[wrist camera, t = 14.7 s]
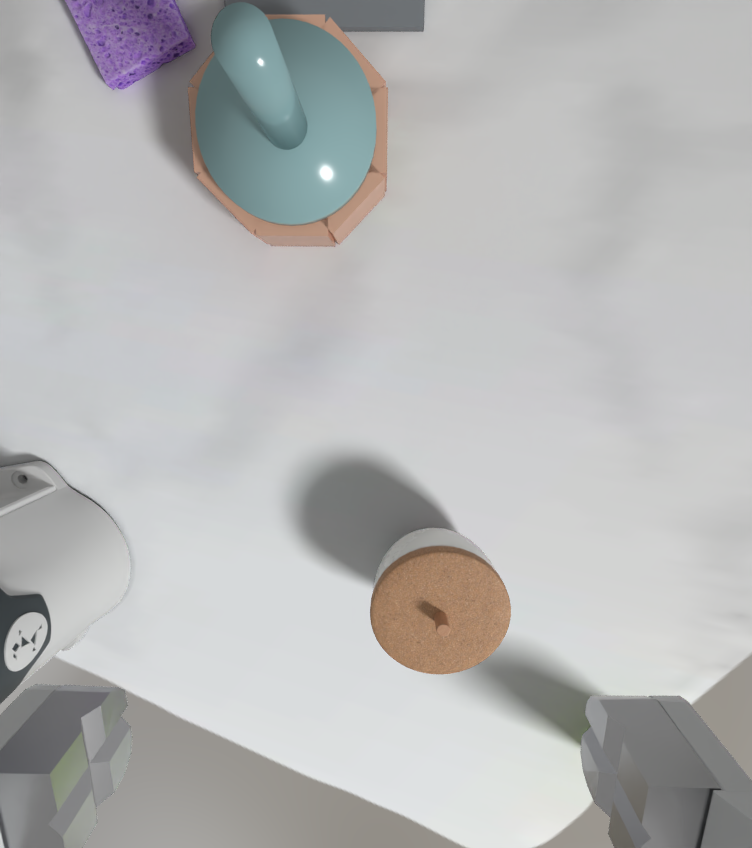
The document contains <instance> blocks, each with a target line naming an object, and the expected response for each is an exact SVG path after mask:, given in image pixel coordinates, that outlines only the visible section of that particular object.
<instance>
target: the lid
mask: <svg viewBox="0 0 752 848" xmlns="http://www.w3.org/2000/svg"><path fill="white" fill-rule="evenodd" d="M211 43H212V48H213V51H214V54H215V55H214V56H213V58H212V59H211V61H210V62H209V64H208V66H207V68H206V70H205V72H204V74H203V77H202V80H201V83H200V86H199V90H198V95H197V100H196V109H195V125H196V133H197V140H198V144H199V148H200V151H201V154H202V157H203V159H204V162H205V164H206V166H207V168H208V170H209V172H210V174H211V176H212V177H213V179H214V180H215V182H216V183H217V185H218V186H219V187H220V188H221V190H222V191H223V192H224V193H225V194H226V195H227V196H228V197H229V198H230V199H231V200H232V201H233V202H234V203H235V204H237V205H238V206H239V207H241V208H242V209H243V210H245V211H246V212H248V213H249V214H251V215H253V216H255V217H257V218H259V219H261V220H264V221H266V222H269V223H273V224H278V225H284V226H301V225H307V224H312V223H315V222H318V221H321V220H323V219H325V218H327V217H329V216H331V215H333V214H335V213H336V212H337V211H339V210H340V209H341V208H343V207H344V206H345V205H346V204H347V203H348V202H349V201H350V200H351V199H352V198H353V197H354V195H355V194H356V193H357V192H358V190H359V189H360V187H361V186H362V184H363V182H364V181H365V179H366V176H367V174H368V172H369V170H370V167H371V164H372V160H373V157H374V152H375V146H376V134H377V129H376V111H375V105H374V99H373V96H372V92H371V89H370V86H369V83H368V81H367V78H366V76H365V74H364V72H363V70H362V68H361V67H360V65H359V63H358V62H357V60H356V59H355V58H354V56H353V55H352V54H351V52H350V51H349V50H348V49H347V48H346V47H345V46H344V45H343V44H342V43H341V42H340V41H339V40H338V39H336V38H335V37H334V36H333V35H331V34H330V33H328V32H326V31H325V30H323V29H321V28H320V27H317V26H315V25H312V24H310V23H307V22H303V21H299V20H295V19H283V18H282V19H270V20H268V18H267V17H266V16H265V14H264V13H263V12H262V11H261V10H260V9H258V8H257V7H256V6H254V5H252V4H249V3H245V2H237V3H232V4H230V5H228V6H226V7H225V8H224V9H222V10H221V11H220V12H219V14H218V15H217V17H216V18H215V20H214V23H213V26H212V31H211Z"/></svg>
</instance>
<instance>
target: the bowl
mask: <svg viewBox="0 0 752 848" xmlns="http://www.w3.org/2000/svg"><path fill="white" fill-rule="evenodd" d="M265 16H266V17H267V18H268V20H270V19H282V18H283V19H295V20H299V21H303V22H307V23H310V24H312V25H315V26H317V27H320V28H321V29H323V30H325V31H326V32H328V33H330V34H331V35H333V36H334V37H335V38H336V39H338V40H339V41H340V42H341V43H342V44H343V45H344V46H345V47H346V48H347V49H348V50H349V51H350V52H351V54H352V55H353V56H354V58H355V59H356V60H357V62H358V63H359V65H360V67H361V68H362V70H363V72H364V74H365V76H366V78H367V81H368V83H369V86H370V89H371V92H372V96H373V99H374V105H375V111H376V129H377V134H376V146H375V152H374V157H373V160H372V164H371V167H370V170H369V172H368V174H367V176H366V179H365V181H364V182H363V184H362V186H361V187H360V189H359V190H358V192H357V193H356V194H355V195H354V197H353V198H352V199H351V200H350V201H349V202H348V203H347V204H346V205H345V206H344V207H343V208H341V209H340V210H339V211H337V212H336V213H335V214H333V215H331V216H329V217H327V218H325V219H323V220H321V221H318V222H315V223H312V224H307V225H301V226H284V225H278V224H273V223H269V222H266V221H264V220H261V219H259V218H257V217H255V216H253V215H251V214H249V213H248V212H246V211H245V210H243V209H242V208H241V207H239V206H238V205H237V204H235V203H234V202H233V201H232V200H231V199H230V198H229V197H228V196H227V195H226V194H225V193H224V192H223V191H222V190H221V188H220V187H219V186H218V185H217V183H216V182H215V180H214V179H213V177H212V176H211V174H210V172H209V170H208V168H207V166H206V164H205V162H204V159H203V157H202V154H201V151H200V148H199V144H198V140H197V133H196V125H195V109H196V100H197V95H198V90H199V86H200V83H201V80H202V77H203V74H204V72H205V70H206V68H207V66H208V64H209V62H210V61H211V59H212V58H213V56H214V55H215V54H214V51H213V52H212V54H211V55H210V56H209V57H208V59H207V60H206V61H205V63H204V64H203V65H202V66H201V68H200V69H199V70H198V71H197V73H196V74H195V75H194V76H193V78H192V79H191V80H190V81H189V82H190V83H191V84H192V85H193V86H194V87H188V96H189V110H190V123H191V136H192V149H193V162H194V172H195V173H196V174H197V175H198V176H197V178H198V179H199V180H200V181H201V182H202V183H203V184H204V185H205V186H206V187H207V188H208V189H209V191H210V192H211V193H212V194H213V195H214V196H215V197H216V198H217V199H218V200H219V201H220V202H221V203H222V204H223V205H224V206H225V207H226V208H227V209H228V210H229V211H230V212H231V213H232V214H233V215H234V216H235V217H236V218H237V219H238V220H239V221H240V222H241V223H242V224H243V225H244V226H245V227H246V228H247V229H248V230H249V231H250V233H251V234H253V235H254V236H256V237H258V238H259V239H261V240H262V241H264V242H265V243H267V244H270V245H271V246H335V241H336V242H337V243H338V244H340V243H341V242H342V241H343V240H344V239H345V238H346V237H347V236H348V235H349V234H350V233H351V231H352V230H353V229H354V228H355V227H356V226H357V225H358V224H359V223H360V222H361V221H362V220H363V219H364V218H365V216H366V215H367V214H368V213H369V212H370V211H371V210H372V209H373V208H374V207H375V206H376V205H377V204H378V203H379V201H380V200H381V199H382V198H383V197H384V196H385V191H386V184H387V112H388V88H386V81H385V80H384V79H383V78H382V77H381V76H380V74H379V73H378V72H377V71H376V70H375V69H374V67H373V66H372V65H371V64H370V63H369V62H368V60H367V59H366V58H365V57H364V56H363V55H362V53H361V52H360V51H359V50H358V49H357V48H356V47H355V45H354V44H353V43H352V42H351V41H350V40H349V38H348V37H347V36H346V35H345V34H344V33H343V31H342V30H341V29H340V28H339V27H338V26H337V24H336V23H335V22H334V21H333V20H332V19H331V17H330V18H329V19H328V20H327V21H326V17H325V14H313V15H265Z"/></svg>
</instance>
